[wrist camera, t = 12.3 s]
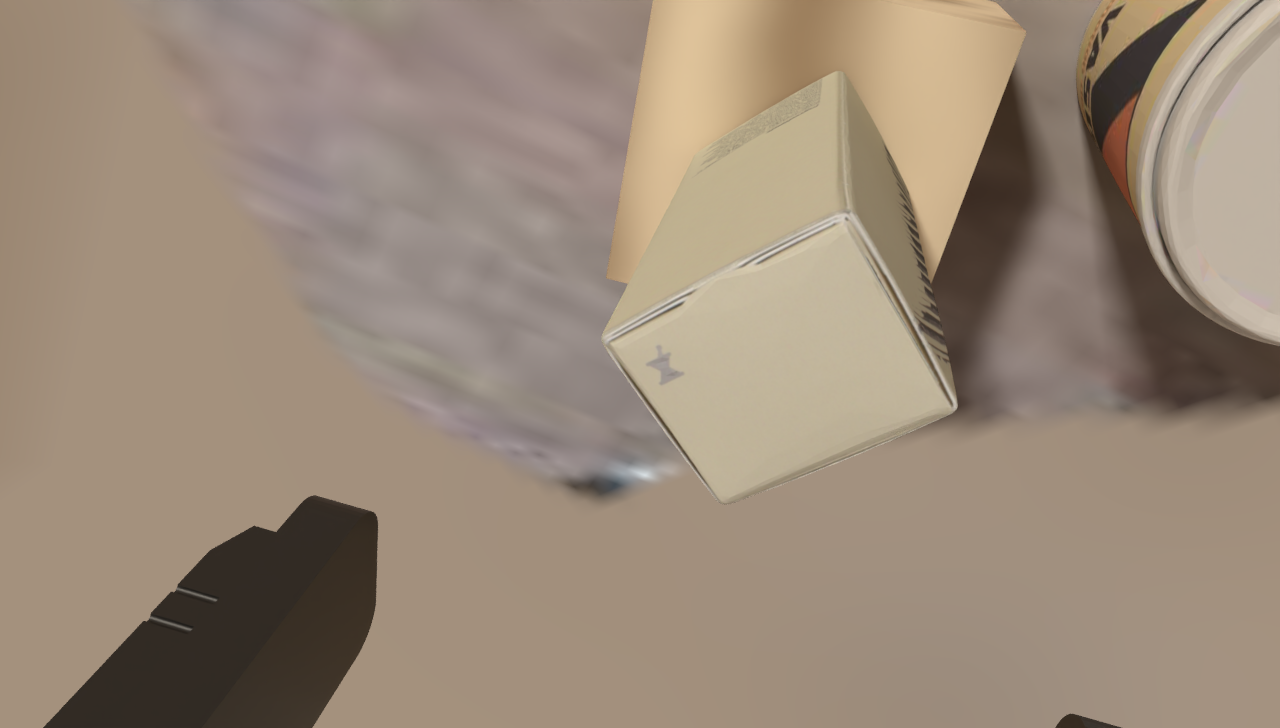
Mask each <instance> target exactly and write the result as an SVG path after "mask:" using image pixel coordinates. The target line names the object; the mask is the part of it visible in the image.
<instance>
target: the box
mask: <svg viewBox="0 0 1280 728" xmlns="http://www.w3.org/2000/svg"><path fill="white" fill-rule="evenodd" d="M601 339H602V343H603V344H604V346H605V348H606V350H607V352H608V353H609V355H610V356H611V358H612V359H613V360H614V362H615V363H616V365H617V366H618V367H619V369H620V370H621V371H622V373H623V374H624V376H625V377H626V379H627V380H628V381H629V383H630V384H631V386H632V387H633V388H634V390H635V391H636V393H637V394H638V396H639V397H640V399H641V400H642V401H643V403H644V404H645V406H646V407H647V409H648V410H649V411H650V413H651V414H652V415H653V417H654V418H655V419H656V421H657V422H658V423H659V425H660V426H661V428H662V429H663V430H664V432H665V433H666V435H667V436H668V437H669V439H670V440H671V442H672V443H673V444H674V446H675V447H676V448H677V449H678V451H679V452H680V453H681V454H682V456H683V457H684V459H685V460H686V461H687V463H688V464H689V466H690V467H691V468H692V470H693V471H694V472H695V474H696V475H697V476H698V477H699V479H700V480H701V481H702V483H703V484H704V485H705V487H706V488H707V489H708V490H709V492H710V493H711V494H712V495H713V496H714V498H715V499H716V500H717V501H718V502H719V503H721V504H731V503H735V502H737V501H740V500H742V499H745V498H748V497H751V496H753V495H756V494H759V493H761V492H764V491H767V490H770V489H772V488H775V487H778V486H780V485H783V484H785V483H787V482H790V481H793V480H795V479H798V478H801V477H803V476H806V475H808V474H810V473H813V472H815V471H818V470H821V469H823V468H826V467H828V466H831V465H833V464H836V463H838V462H841V461H843V460H846V459H849V458H851V457H854V456H856V455H858V454H861V453H863V452H866V451H868V450H870V449H872V448H875V447H877V446H880V445H882V444H885V443H887V442H890V441H892V440H894V439H897V438H899V437H901V436H904V435H906V434H908V433H910V432H913V431H915V430H917V429H919V428H921V427H923V426H926V425H928V424H930V423H932V422H934V421H937V420H939V419H942V418H944V417H946V416H949V415H950V414H952V413H954V412H955V411H956V410H957V408H958V402H957V395H956V390H955V385H954V380H953V375H952V370H951V365H950V361H949V357H948V352H947V347H946V343H945V339H944V334H943V331H942V325H941V321H940V318H939V315H938V310H937V306H936V303H935V299H934V295H933V292H932V287H931V283H930V280H929V277H928V272H927V268H926V265H925V259H924V255H923V252H922V246H921V243H920V240H919V233H918V231H917V225H916V222H915V217H914V213H913V209H912V204H911V200H910V197H909V191H908V189H907V186H906V184H905V182H904V180H903V178H902V176H901V174H900V172H899V170H898V168H897V166H896V164H895V162H894V160H893V158H892V156H891V154H890V152H889V150H888V148H887V146H886V144H885V142H884V140H883V138H882V136H881V134H880V133H879V131H878V129H877V127H876V125H875V123H874V121H873V119H872V118H871V116H870V114H869V112H868V111H867V109H866V107H865V105H864V104H863V102H862V100H861V98H860V97H859V95H858V93H857V92H856V90H855V88H854V87H853V85H852V83H851V82H850V80H849V79H848V77H847V76H846V74H845V73H844V72H842V71H835V72H833V73H831V74H829V75H827V76H825V77H823V78H821V79H820V80H818V81H816V82H814V83H812V84H810V85H808V86H807V87H805V88H803V89H801V90H800V91H798V92H796V93H794V94H793V95H791V96H789V97H787V98H786V99H784V100H782V101H781V102H779V103H777V104H776V105H774V106H772V107H770V108H769V109H767V110H765V111H763V112H762V113H760V114H758V115H757V116H755V117H754V118H752V119H750V120H749V121H747V122H745V123H744V124H742V125H740V126H739V127H737V128H735V129H734V130H732V131H731V132H729V133H727V134H726V135H724V136H722V137H721V138H719V139H718V140H716V141H714V142H713V143H711V144H710V145H708V146H707V147H705V148H703V149H702V150H700V151H699V152H697V153H696V154H695V156H694V157H693V159H692V162H691V163H690V165H689V167H688V169H687V171H686V173H685V175H684V177H683V179H682V181H681V183H680V185H679V187H678V189H677V191H676V193H675V195H674V197H673V199H672V201H671V203H670V205H669V207H668V209H667V210H666V212H665V214H664V216H663V218H662V220H661V222H660V224H659V226H658V228H657V230H656V231H655V233H654V235H653V237H652V239H651V241H650V243H649V245H648V247H647V249H646V251H645V253H644V254H643V256H642V258H641V260H640V262H639V264H638V266H637V268H636V270H635V272H634V274H633V276H632V278H631V280H630V282H629V283H628V286H627V288H626V290H625V291H624V293H623V295H622V297H621V299H620V301H619V303H618V305H617V307H616V309H615V310H614V313H613V315H612V317H611V318H610V320H609V322H608V324H607V326H606V328H605V330H604V332H603V334H602V338H601Z"/></svg>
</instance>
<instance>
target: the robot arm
mask: <svg viewBox="0 0 1280 728" xmlns="http://www.w3.org/2000/svg"><path fill="white" fill-rule="evenodd" d="M377 540H378V521H377V516H376V514H375V513H374V512H371V511H368V510H365V509H361V508H357V507H354V506H350V505H347V504H343V503H340V502H336V501H333V500H329V499H326V498H322V497H318V496H310V497H308V498H307V499H305V500H304V501H303V502H302V503H301V504H300V505H299V506H298V508H297V509H296V510H295V511H294V512H293V513H292V514H291V516H290V517H289V518H288V519H287V520H286V522H285V523H284V524H283V525H282V526H281V527H280V528H279V529H278V531H277V532H273V531H270V530H267V529H263V528H260V527H256V526H253V527H251V528H249V529H248V530H246V531H244V532H242V533H240V534H239V535H237V536H235V537H233V538H231V539H230V540H228V541H226V542H224V543H222V544H221V545H219V546H217V547H215V548H213V549H212V550H210V551H209V552H208V553H207V554H206V555H205V556H204V557H203V558H202V559H201V560H200V562H199V563H198V564H197V565H196V566H195V567H194V568H193V569H192V570H191V571H190V572H189V573H188V574H187V575H186V576H185V577H184V579H183V580H182V581H181V582H180V583H179V584H178V587H177V589H176V591H175V592H170V594H169V595H168V596H167V597H166V598H165V599H164V600H163V601H162V602H161V603H160V604H159V605H158V606H157V608H155V609H154V610H153V612H152V613H151V616H150V618H149V620H148V621H147V622H146V621H143V622H142V623H141V624H140V625H139V627H137V629H136V630H135V631H134V632H133V633H132V634H131V635H130V636H129V637H128V638H127V639H126V640H125V641H124V642H123V644H121V646H120V647H119V648H118V649H117V650H116V651H115V652H114V653H113V654H112V655H111V656H110V657H109V659H107V660H106V662H105V663H104V664H103V665H102V666H101V667H100V668H99V669H98V670H97V671H96V672H95V673H94V675H92V677H91V678H90V679H89V680H88V681H87V682H86V683H85V684H84V685H83V686H82V687H81V688H80V689H79V690H78V691H77V693H76V694H75V695H74V696H73V697H72V698H71V699H70V700H69V701H68V702H67V703H66V704H65V705H64V706H63V707H62V708H61V710H60V711H59V712H58V713H57V714H56V715H55V716H54V717H53V718H52V719H51V720H50V721H49V722H48V723H47V724H46V725H45V726H44V727H43V728H312V727H313V726H314V724H315V723H316V721H317V719H318V718H319V716H320V715H321V713H322V711H323V710H324V708H325V707H326V705H327V703H328V702H329V700H330V699H331V697H332V695H333V694H334V692H335V691H336V689H337V688H338V686H339V684H340V683H341V681H342V680H343V678H344V676H345V675H346V673H347V671H348V670H349V669H350V667H351V665H352V664H353V662H354V661H355V659H356V657H357V656H358V654H359V652H360V650H361V648H362V646H363V644H364V642H365V640H366V637H367V635H368V632H369V629H370V626H371V623H372V619H373V615H374V611H375V605H376V578H377ZM1056 728H1121V727H1117V726H1113V725H1110V724H1107V723H1103V722H1099V721H1096V720H1093V719H1089V718H1086V717H1082V716H1079V715H1075V714H1069V715H1066V716H1065V717H1064V718H1062V719H1061V720H1060V722H1059V723H1058V725H1057V726H1056Z"/></svg>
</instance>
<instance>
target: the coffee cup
mask: <svg viewBox="0 0 1280 728" xmlns="http://www.w3.org/2000/svg"><path fill="white" fill-rule="evenodd" d="M1076 84H1077V95H1078V99H1079V104H1080V108H1081V111H1082V114H1083V117H1084V120H1085V123H1086V125H1087V127H1088V129H1089V131H1090V133H1091V135H1092V137H1093V139H1094V141H1095V143H1096V145H1097V147H1098V149H1099V151H1100V153H1101V154H1102V156H1103V158H1104V160H1105V162H1106V164H1107V166H1108V168H1109V169H1110V171H1111V173H1112V175H1113V177H1114V179H1115V181H1116V183H1117V184H1118V186H1119V188H1120V190H1121V192H1122V193H1123V195H1124V197H1125V199H1126V201H1127V202H1128V204H1129V206H1130V208H1131V209H1132V211H1133V213H1134V215H1135V217H1136V218H1137V220H1138V222H1139V224H1140V225H1141V228H1142V232H1143V235H1144V237H1145V240H1146V242H1147V245H1148V247H1149V250H1150V252H1151V255H1152V257H1153V258H1154V260H1155V262H1156V264H1157V266H1158V267H1159V269H1160V271H1161V273H1162V274H1163V275H1164V277H1165V278H1166V279H1167V281H1168V282H1169V283H1170V284H1171V286H1172V287H1173V288H1174V289H1175V290H1176V291H1177V292H1178V293H1179V294H1180V295H1181V296H1182V297H1183V298H1184V299H1185V300H1186V301H1187V302H1188V303H1189V304H1190V305H1192V306H1193V307H1194V308H1195V309H1197V310H1198V311H1199V312H1201V313H1202V314H1203V315H1204V316H1206V317H1207V318H1209V319H1211V320H1213V321H1214V322H1216V323H1218V324H1219V325H1221V326H1223V327H1225V328H1227V329H1229V330H1231V331H1233V332H1235V333H1238V334H1240V335H1242V336H1245V337H1248V338H1251V339H1254V340H1257V341H1260V342H1263V343H1268V344H1272V345H1276V346H1280V0H1102V1H1101V3H1100V4H1099V6H1098V7H1097V9H1096V11H1095V12H1094V14H1093V16H1092V18H1091V20H1090V22H1089V25H1088V27H1087V29H1086V31H1085V34H1084V37H1083V40H1082V43H1081V46H1080V50H1079V55H1078V60H1077V68H1076Z"/></svg>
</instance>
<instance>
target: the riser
mask: <svg viewBox="0 0 1280 728" xmlns="http://www.w3.org/2000/svg"><path fill="white" fill-rule="evenodd" d="M1025 35H1026V31H1025V30H1024V29H1023V28H1022V27H1021V26H1020V25H1019V24H1018V23H1017V22H1016V21H1014V20H1013V19H1012V18H1011V17H1010V16H1009V15H1008V14H1007V13H1006V12H1005V11H1004V10H1003V9H1002V8H1001V7H1000V6H999V5H998V4H997V3H996V2H993V1H988V0H653V4H652V10H651V16H650V22H649V28H648V34H647V40H646V46H645V52H644V57H643V63H642V69H641V75H640V81H639V87H638V93H637V99H636V105H635V110H634V116H633V122H632V128H631V134H630V140H629V146H628V152H627V157H626V163H625V169H624V175H623V181H622V187H621V193H620V199H619V205H618V210H617V216H616V222H615V228H614V234H613V240H612V246H611V252H610V258H609V263H608V269H607V275H606V278H608V279H612V280H616V281H620V282H624V283H629V282H630V280H631V278H632V276H633V274H634V272H635V270H636V268H637V266H638V264H639V262H640V260H641V258H642V256H643V254H644V253H645V251H646V249H647V247H648V245H649V243H650V241H651V239H652V237H653V235H654V233H655V231H656V230H657V228H658V226H659V224H660V222H661V220H662V218H663V216H664V214H665V212H666V210H667V209H668V207H669V205H670V203H671V201H672V199H673V197H674V195H675V193H676V191H677V189H678V187H679V185H680V183H681V181H682V179H683V177H684V175H685V173H686V171H687V169H688V167H689V165H690V163H691V162H692V159H693V157H694V156H695V154H696V153H697V152H699V151H700V150H702V149H703V148H705V147H707V146H708V145H710V144H711V143H713V142H714V141H716V140H718V139H719V138H721V137H722V136H724V135H726V134H727V133H729V132H731V131H732V130H734V129H735V128H737V127H739V126H740V125H742V124H744V123H745V122H747V121H749V120H750V119H752V118H754V117H755V116H757V115H758V114H760V113H762V112H763V111H765V110H767V109H769V108H770V107H772V106H774V105H776V104H777V103H779V102H781V101H782V100H784V99H786V98H787V97H789V96H791V95H793V94H794V93H796V92H798V91H800V90H801V89H803V88H805V87H807V86H808V85H810V84H812V83H814V82H816V81H818V80H820V79H821V78H823V77H825V76H827V75H829V74H831V73H833V72H835V71H842V72H844V73H845V74H846V76H847V77H848V79H849V80H850V82H851V83H852V85H853V87H854V88H855V90H856V92H857V93H858V95H859V97H860V98H861V100H862V102H863V104H864V105H865V107H866V109H867V111H868V112H869V114H870V116H871V118H872V119H873V121H874V123H875V125H876V127H877V129H878V131H879V133H880V134H881V136H882V138H883V140H884V142H885V144H886V146H887V148H888V150H889V152H890V154H891V156H892V158H893V160H894V162H895V164H896V166H897V168H898V170H899V172H900V174H901V176H902V178H903V180H904V182H905V184H906V186H907V189H908V191H909V197H910V200H911V204H912V209H913V213H914V217H915V222H916V225H917V231H918V233H919V240H920V243H921V246H922V252H923V255H924V259H925V265H926V268H927V272H928V277H929V280H930V283H932V280H933V278H934V275H935V272H936V270H937V267H938V264H939V262H940V259H941V257H942V254H943V251H944V249H945V246H946V243H947V241H948V238H949V235H950V233H951V230H952V228H953V225H954V222H955V220H956V217H957V214H958V212H959V209H960V206H961V204H962V201H963V198H964V196H965V193H966V191H967V188H968V185H969V183H970V180H971V177H972V175H973V172H974V169H975V167H976V164H977V162H978V159H979V156H980V154H981V151H982V148H983V146H984V143H985V140H986V138H987V135H988V133H989V130H990V127H991V125H992V122H993V119H994V117H995V114H996V111H997V109H998V106H999V104H1000V101H1001V98H1002V96H1003V93H1004V90H1005V88H1006V85H1007V82H1008V80H1009V77H1010V75H1011V72H1012V69H1013V67H1014V64H1015V61H1016V59H1017V56H1018V53H1019V51H1020V48H1021V46H1022V43H1023V40H1024V38H1025Z"/></svg>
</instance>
